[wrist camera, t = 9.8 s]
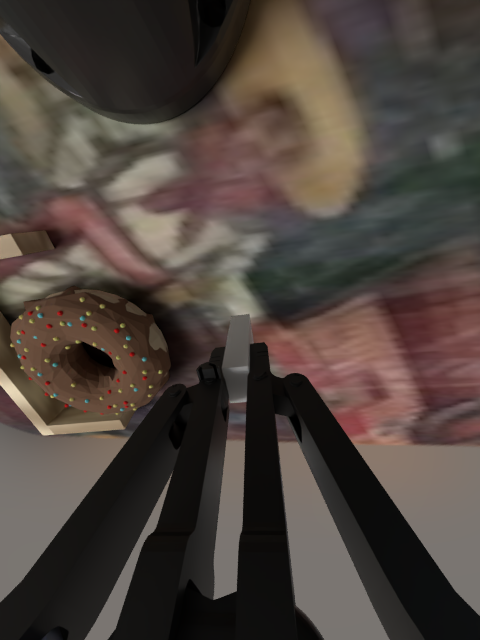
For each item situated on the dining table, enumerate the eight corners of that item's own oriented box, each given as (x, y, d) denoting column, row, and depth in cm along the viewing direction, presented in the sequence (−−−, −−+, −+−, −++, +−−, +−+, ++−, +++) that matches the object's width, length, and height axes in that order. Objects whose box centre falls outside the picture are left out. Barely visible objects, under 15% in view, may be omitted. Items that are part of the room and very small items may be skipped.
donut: (135, 261, 20) (101, 277, 15) (194, 377, 25) (182, 412, 21) (11, 303, 22) (-50, 327, 18) (90, 400, 28) (60, 436, 23)
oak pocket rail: (-59, 250, 20) (-108, 257, 17) (45, 230, 19) (10, 233, 16) (62, 414, 29) (43, 435, 26) (136, 407, 28) (124, 429, 25)
